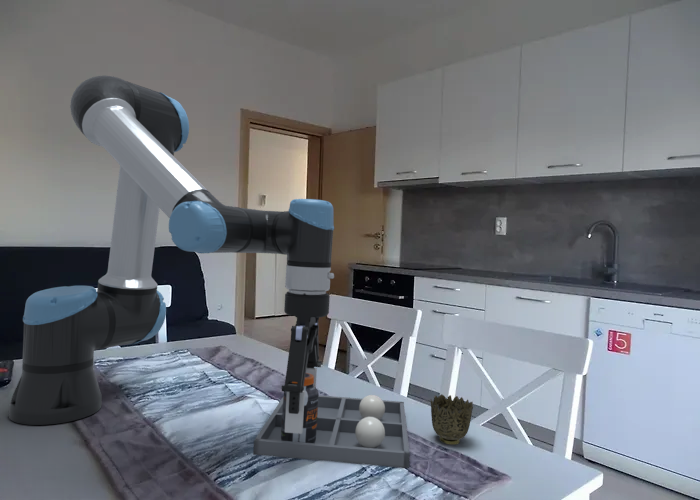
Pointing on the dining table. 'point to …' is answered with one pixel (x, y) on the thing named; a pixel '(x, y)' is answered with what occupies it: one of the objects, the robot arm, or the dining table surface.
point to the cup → (451, 418)
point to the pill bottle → (309, 414)
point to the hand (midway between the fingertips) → (301, 416)
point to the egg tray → (340, 435)
